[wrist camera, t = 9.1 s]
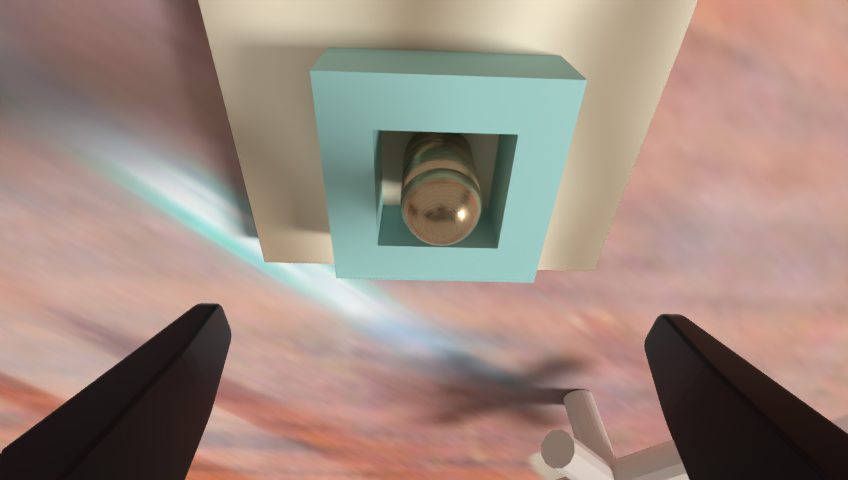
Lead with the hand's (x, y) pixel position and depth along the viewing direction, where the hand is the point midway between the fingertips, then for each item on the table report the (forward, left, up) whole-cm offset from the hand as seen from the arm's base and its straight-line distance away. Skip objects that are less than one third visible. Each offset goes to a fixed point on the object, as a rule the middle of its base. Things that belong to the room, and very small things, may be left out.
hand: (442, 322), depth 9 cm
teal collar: (0, 0, -8) cm, 8 cm away
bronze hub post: (0, 0, -8) cm, 8 cm away
